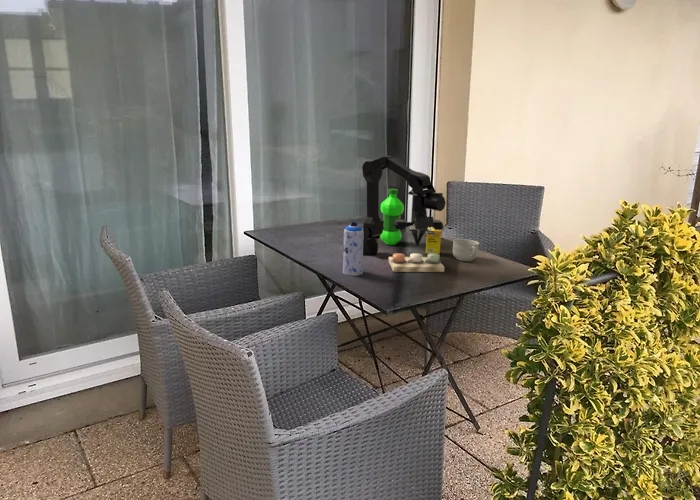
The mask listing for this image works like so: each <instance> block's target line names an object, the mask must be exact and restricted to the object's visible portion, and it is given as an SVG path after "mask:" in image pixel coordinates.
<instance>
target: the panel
mask: <svg viewBox="0 0 700 500" xmlns="http://www.w3.org/2000/svg"><path fill="white" fill-rule="evenodd" d="M388 263H389V266H390V267H391V269H392V272H395V273H398V272H400V273H402V272H403V273H407V272H408V273H411V272H413V273H415V272H416V273H419V272H420V273H421V272H422V273H423V272H424V273H444V272H445V266H444V264H443V263H442V260H440V259H439V262H429V261H427V256H422V262H411V261H410V256H405V261H404V262H394V261H393V256H388Z"/></svg>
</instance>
